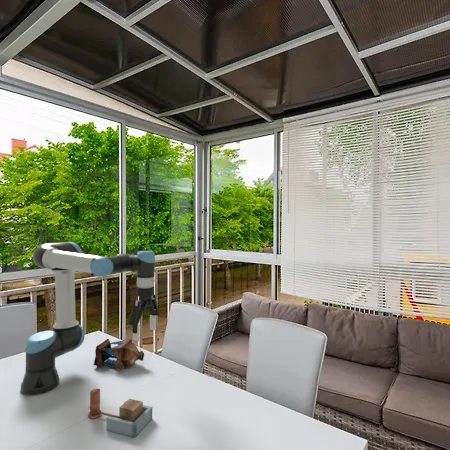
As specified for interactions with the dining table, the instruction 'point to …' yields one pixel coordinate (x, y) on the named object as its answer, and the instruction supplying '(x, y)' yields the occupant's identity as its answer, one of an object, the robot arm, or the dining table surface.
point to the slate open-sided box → (129, 423)
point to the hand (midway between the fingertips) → (144, 334)
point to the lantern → (117, 354)
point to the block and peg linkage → (126, 412)
